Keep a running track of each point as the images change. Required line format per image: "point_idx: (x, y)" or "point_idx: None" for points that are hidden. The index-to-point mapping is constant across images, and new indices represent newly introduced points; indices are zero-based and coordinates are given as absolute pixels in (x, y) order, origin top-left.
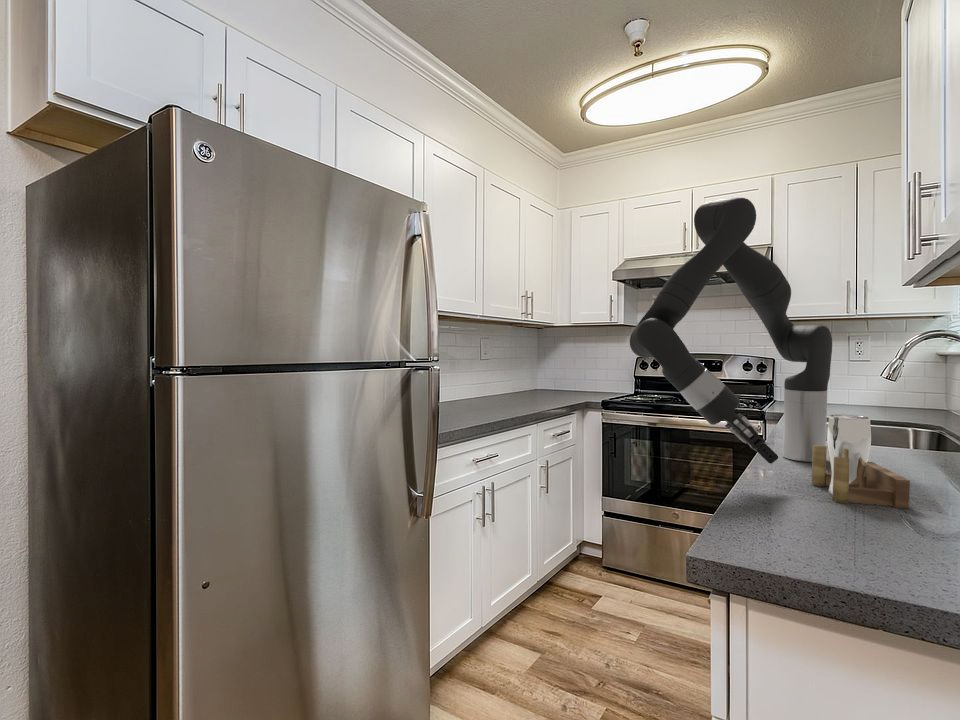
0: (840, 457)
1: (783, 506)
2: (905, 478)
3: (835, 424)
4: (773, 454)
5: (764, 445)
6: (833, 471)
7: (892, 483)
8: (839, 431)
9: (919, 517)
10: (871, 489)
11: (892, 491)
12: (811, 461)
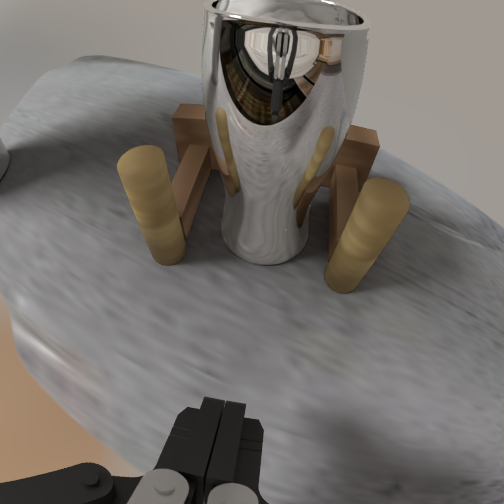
0: (378, 194)
1: (419, 446)
2: (359, 127)
3: (331, 63)
4: (262, 435)
5: (258, 492)
6: (366, 247)
7: (357, 153)
8: (345, 90)
9: (410, 193)
10: (348, 195)
11: (353, 167)
12: (2, 175)
